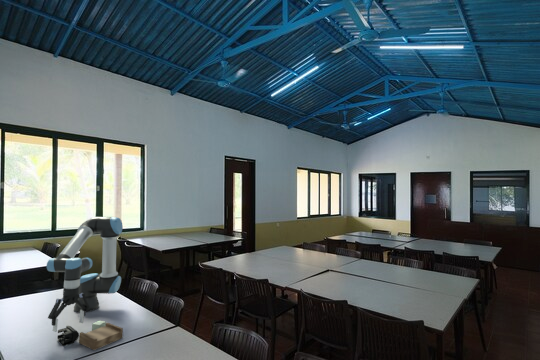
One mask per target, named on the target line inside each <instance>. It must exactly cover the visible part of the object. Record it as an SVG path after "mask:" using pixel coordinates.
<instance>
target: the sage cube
mask: <svg viewBox="0 0 540 360" xmlns="http://www.w3.org/2000/svg"><path fill="white" fill-rule="evenodd" d="M106 323H107V321H105V320H98V321H95V322H93V323H92V324H91V331H93V330H95V329H98V328H101V327H103V326H106Z"/></svg>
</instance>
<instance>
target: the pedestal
mask: <svg viewBox="0 0 540 360" xmlns="http://www.w3.org/2000/svg"><path fill="white" fill-rule="evenodd" d="M123 331H124V327H121V326H118V325H115V324H113V323H110V322H106V326H103V327H101V328H98V329H95V330H93V331H92V330H91V331H88V332H83V331H81V332H79V337H78V344H80V345H83V346H85V347H87V348H89V349H91V350H93V351H96V350H98V349H100V348H103V347H105V346H108V345H110V344H112V343H114V342H117V341H119V340H121V339H123V334H124V332H123Z"/></svg>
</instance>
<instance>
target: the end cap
mask: <svg viewBox="0 0 540 360" xmlns="http://www.w3.org/2000/svg"><path fill="white" fill-rule="evenodd" d="M57 333H58V334H57V342H58V343H59V344H60V345H61V346H63V347H65V346H70V345H73V344H74V343H75V342H77V340H79V335H80V332H79V331H77V330H76V329H75V328H74V327H72V326H71V325H66V326H65V327H63V328H61V329H57ZM60 333H61V334H60Z"/></svg>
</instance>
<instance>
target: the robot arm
mask: <svg viewBox="0 0 540 360" xmlns="http://www.w3.org/2000/svg"><path fill="white" fill-rule="evenodd" d="M122 232H123V222H122V220H121V218H119V217H116V216H94V217H91V218H89V219H87V220H85V221H84V222H83V223H81V224H80V226H79V227H78V228H77V231H76V233H75V235H74V236H73V237H72V238H71V239H70V241H68V243H67V244H66V245H65V247H64V248H63V249H62V251H61V252H59V254H58V255H57V257H53V258H50V259H48V260H47V262H46V270H47V271H48V272H52V273H53V272H54V273H64V278H63V279H64V281H63V290H62V298H56V300H55V303H54V305H53V307H52V308H51V310H50V312H49V314H48V317H47V319H50V320H51V326H52V331H53V332H54V333H58V325H59V324H58V323H59V322H58V321H59V319H58V317H59V316H60V315H61V313H62V312H63V310H65V308H67V306H71V305H73V311H74V312H76V313H79V319H78V320H79V321H78V322H79V323H80V324H84V318H85V316H86V313H87V312H92V311H95V310H97V309H98V308H99V307H100V301H99V298H98V294H104V295H105V294H107V295H108V294H116V293H117V291H118V290H119V289H120V286H121V283H122V277H121V276H120V275H119V272H118V271H117V240H118V238H119V236H120V234H122ZM94 234H95V235H96V234H100V238H101V239H102V253H101V254H102V257H101V260H102V261H101V262H102V263H101V264H102V265H101V272H100V273H88V274H85V275H82V276H81V274H82V273H85V272H87V271H88V270H90V269H91V268H92V267H93V262H94V261H93V259H91V258H90V257H82V258H81V257H75V256H76V255H77V253H78V252H79V251H80V249H81V248H82V247H83V245H84V244H85V243H86V242H87V240H88V239H89V238H91V237H92V236H93V235H94Z"/></svg>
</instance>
